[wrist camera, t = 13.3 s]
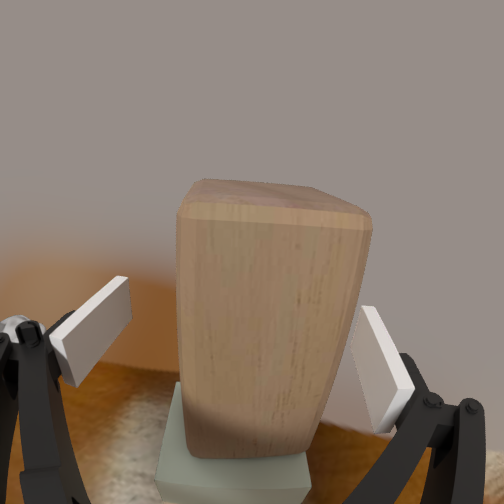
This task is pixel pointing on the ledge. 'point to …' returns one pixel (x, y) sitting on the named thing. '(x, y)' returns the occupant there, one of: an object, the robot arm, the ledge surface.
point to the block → (263, 312)
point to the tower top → (225, 472)
